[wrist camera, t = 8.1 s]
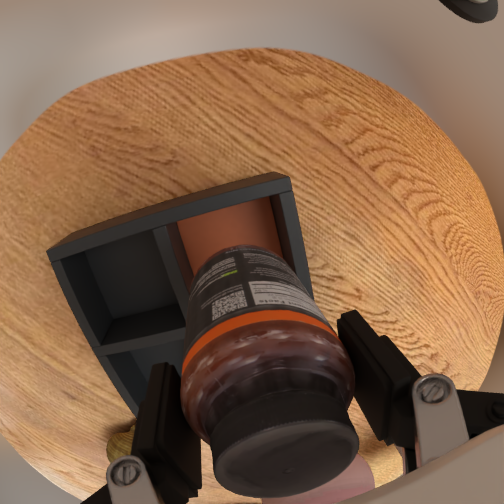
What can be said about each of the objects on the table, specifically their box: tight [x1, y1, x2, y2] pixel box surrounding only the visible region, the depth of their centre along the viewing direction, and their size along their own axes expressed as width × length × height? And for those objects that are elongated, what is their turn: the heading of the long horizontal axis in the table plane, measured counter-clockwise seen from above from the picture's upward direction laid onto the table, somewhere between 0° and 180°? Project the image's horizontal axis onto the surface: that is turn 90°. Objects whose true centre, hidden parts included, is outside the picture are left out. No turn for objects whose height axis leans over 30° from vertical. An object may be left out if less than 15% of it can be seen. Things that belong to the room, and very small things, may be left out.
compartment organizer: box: [46, 172, 314, 418], centre depth 25 cm, size 19×19×5 cm
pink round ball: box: [262, 453, 375, 504], centre depth 30 cm, size 15×15×15 cm
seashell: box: [106, 424, 136, 463], centre depth 31 cm, size 10×7×8 cm
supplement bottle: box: [180, 245, 359, 498], centre depth 12 cm, size 6×6×11 cm
